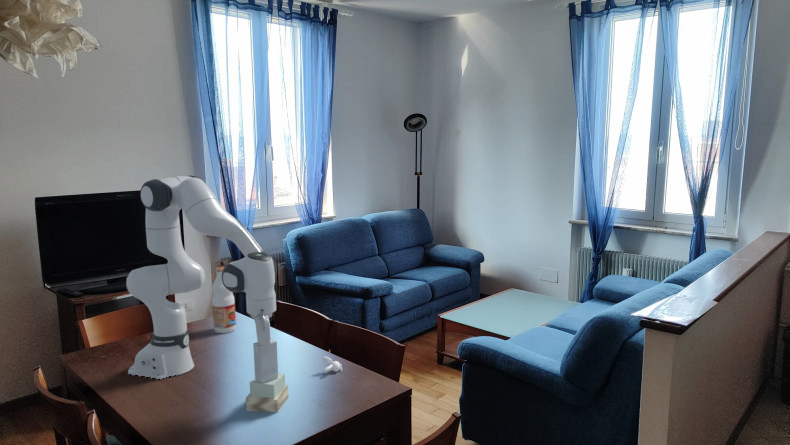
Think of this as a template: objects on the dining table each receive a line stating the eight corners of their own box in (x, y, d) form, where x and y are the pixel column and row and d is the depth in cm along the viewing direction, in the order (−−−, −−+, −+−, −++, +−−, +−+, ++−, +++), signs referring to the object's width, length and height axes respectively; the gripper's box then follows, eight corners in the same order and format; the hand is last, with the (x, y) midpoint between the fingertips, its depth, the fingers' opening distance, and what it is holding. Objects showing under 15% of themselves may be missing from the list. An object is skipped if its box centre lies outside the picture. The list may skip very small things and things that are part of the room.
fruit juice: (214, 327, 241) (210, 266, 236) (236, 325, 243) (233, 264, 239) (213, 334, 232) (209, 271, 227) (235, 332, 234) (232, 269, 230)
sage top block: (250, 396, 167) (249, 382, 166) (262, 385, 174) (261, 371, 174) (274, 398, 165) (273, 384, 164) (285, 387, 173) (284, 373, 172)
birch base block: (246, 411, 166) (245, 397, 166) (258, 396, 176) (258, 383, 175) (277, 413, 165) (277, 399, 164) (288, 398, 175) (287, 385, 174)
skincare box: (271, 374, 172) (269, 337, 170) (279, 378, 169) (277, 340, 167) (253, 380, 168) (252, 342, 166) (261, 384, 164) (260, 346, 163)
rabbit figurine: (345, 373, 192) (326, 368, 188) (339, 379, 194) (320, 374, 190) (343, 359, 197) (325, 353, 193) (337, 365, 198) (319, 359, 194)
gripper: (274, 315, 156) (276, 360, 158) (269, 295, 176) (271, 335, 178) (251, 317, 154) (254, 362, 157) (249, 297, 174) (251, 338, 176)
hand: (263, 348), depth 167 cm, fingers open, 8 cm apart
